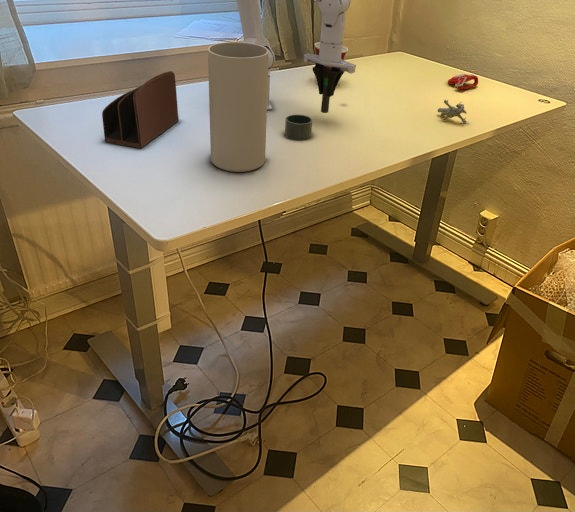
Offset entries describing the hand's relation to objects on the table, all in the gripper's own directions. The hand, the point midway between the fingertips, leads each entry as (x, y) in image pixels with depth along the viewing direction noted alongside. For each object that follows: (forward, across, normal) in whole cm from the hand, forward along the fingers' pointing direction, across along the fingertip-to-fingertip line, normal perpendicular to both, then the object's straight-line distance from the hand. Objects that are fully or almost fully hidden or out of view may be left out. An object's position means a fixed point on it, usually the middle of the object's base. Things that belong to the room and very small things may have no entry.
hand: (326, 94), depth 148 cm
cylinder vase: (+8, +1, +35) cm, 36 cm away
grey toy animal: (+8, -26, -25) cm, 37 cm away
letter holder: (+8, +30, +38) cm, 49 cm away
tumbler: (+8, 0, +13) cm, 15 cm away
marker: (+5, 0, 0) cm, 5 cm away
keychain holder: (+6, -18, -59) cm, 62 cm away
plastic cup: (+8, +17, -30) cm, 35 cm away
